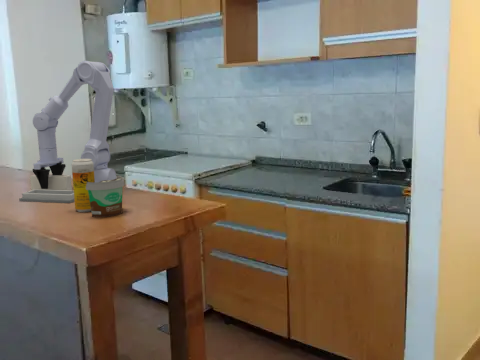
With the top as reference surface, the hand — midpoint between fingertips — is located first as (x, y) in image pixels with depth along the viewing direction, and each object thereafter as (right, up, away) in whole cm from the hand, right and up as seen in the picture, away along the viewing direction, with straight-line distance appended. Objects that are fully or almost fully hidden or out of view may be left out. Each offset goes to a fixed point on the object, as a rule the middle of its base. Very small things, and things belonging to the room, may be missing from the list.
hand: (51, 186), depth 172 cm
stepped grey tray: (+5, -4, -11) cm, 12 cm away
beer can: (+20, -7, -26) cm, 34 cm away
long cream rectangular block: (0, -2, 0) cm, 2 cm away
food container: (+30, -8, -31) cm, 44 cm away
